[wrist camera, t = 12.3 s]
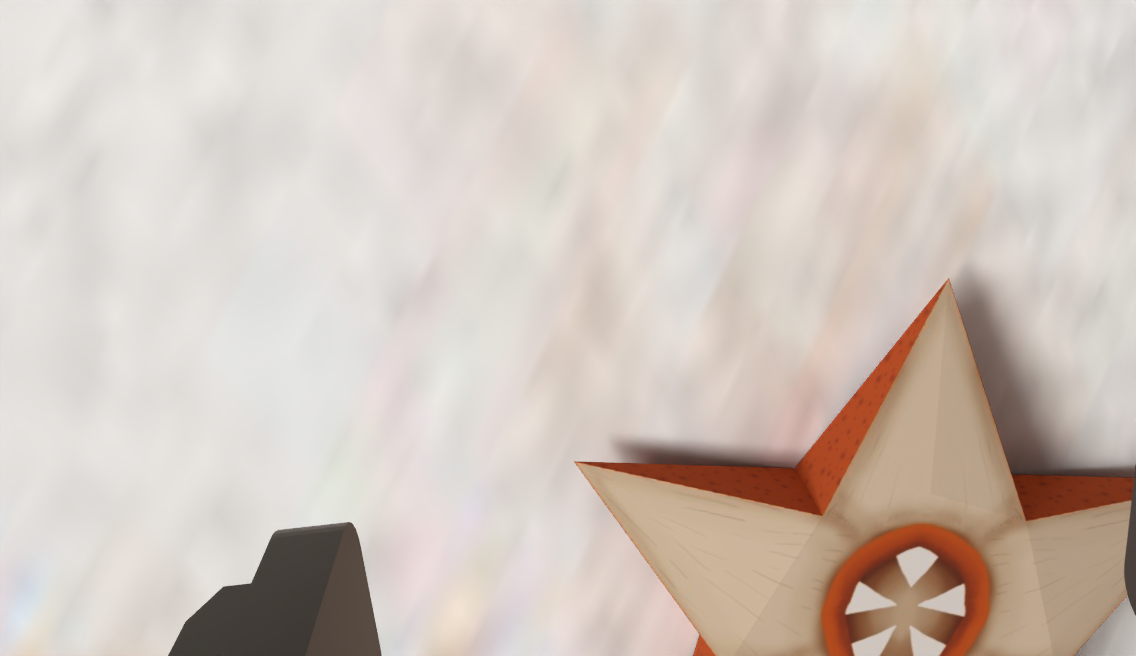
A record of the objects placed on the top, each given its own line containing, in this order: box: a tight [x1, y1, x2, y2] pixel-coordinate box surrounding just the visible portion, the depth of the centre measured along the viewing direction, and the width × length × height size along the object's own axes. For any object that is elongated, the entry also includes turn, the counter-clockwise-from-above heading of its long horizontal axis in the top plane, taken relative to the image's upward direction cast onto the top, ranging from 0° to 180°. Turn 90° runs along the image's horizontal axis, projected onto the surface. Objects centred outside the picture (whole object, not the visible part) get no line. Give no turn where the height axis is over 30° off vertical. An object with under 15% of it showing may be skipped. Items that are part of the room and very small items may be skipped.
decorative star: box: [575, 279, 1134, 656], centre depth 44 cm, size 29×4×30 cm
